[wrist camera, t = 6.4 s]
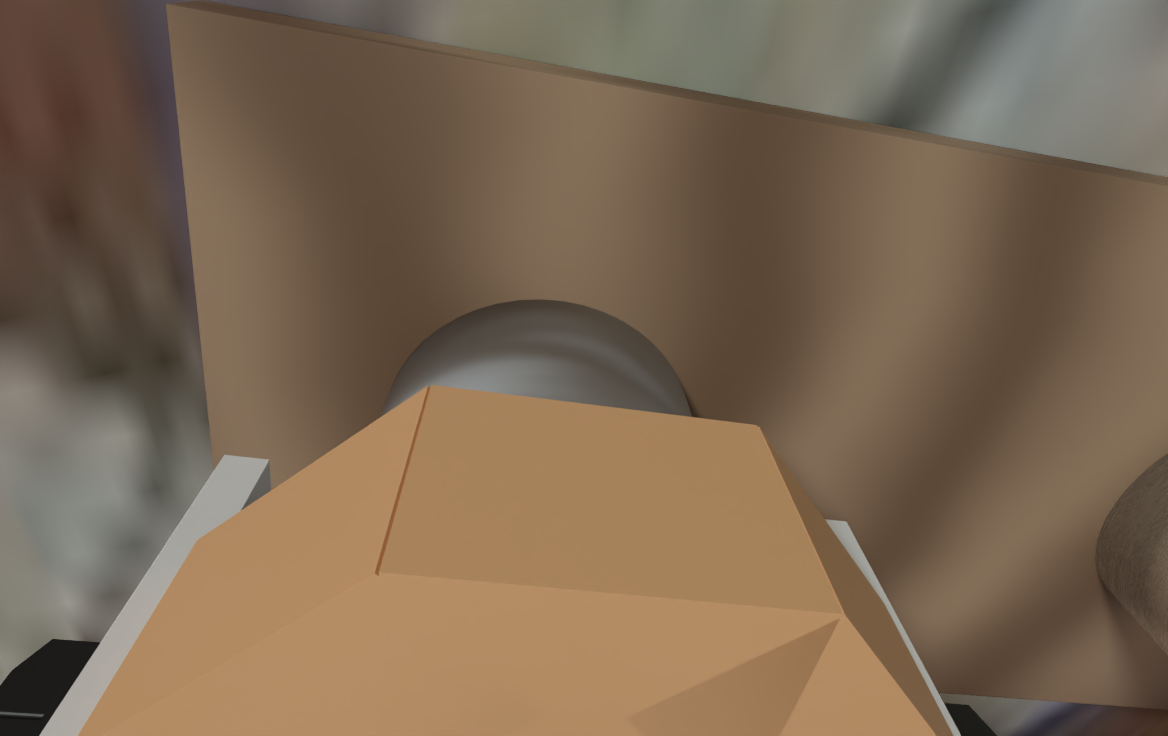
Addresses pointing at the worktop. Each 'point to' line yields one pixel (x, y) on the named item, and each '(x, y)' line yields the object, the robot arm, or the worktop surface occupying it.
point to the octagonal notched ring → (524, 591)
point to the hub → (1139, 551)
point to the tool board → (699, 305)
